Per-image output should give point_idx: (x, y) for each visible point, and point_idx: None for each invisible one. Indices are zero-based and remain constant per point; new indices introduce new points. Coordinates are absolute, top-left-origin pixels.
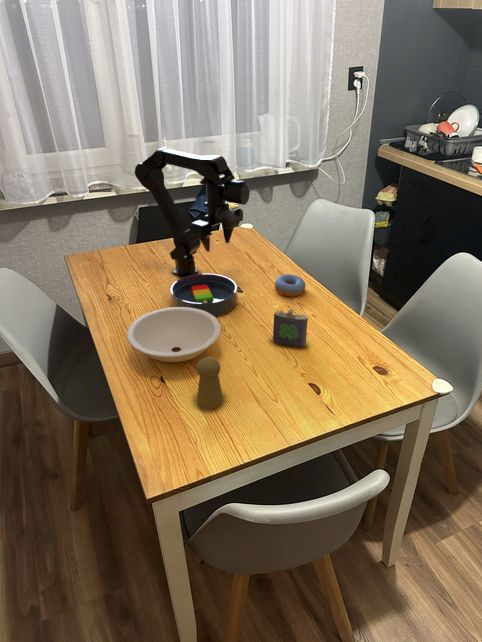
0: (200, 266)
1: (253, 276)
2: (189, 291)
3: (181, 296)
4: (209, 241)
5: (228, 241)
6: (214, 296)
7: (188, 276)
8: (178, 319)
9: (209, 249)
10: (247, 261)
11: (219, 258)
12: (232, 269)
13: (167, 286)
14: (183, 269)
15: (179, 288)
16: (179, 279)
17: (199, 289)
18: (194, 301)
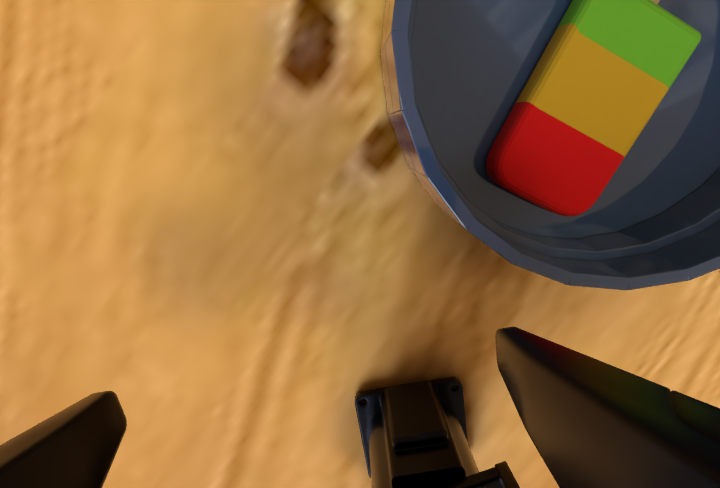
0: (302, 437)
1: (100, 136)
2: (572, 218)
3: (650, 195)
4: (639, 418)
5: (87, 404)
6: (515, 51)
7: (601, 277)
8: None
9: (514, 338)
10: (17, 335)
11: (152, 456)
12: (167, 304)
13: (587, 354)
14: (457, 427)
15: (667, 234)
16: (678, 277)
17: (585, 140)
18: None
